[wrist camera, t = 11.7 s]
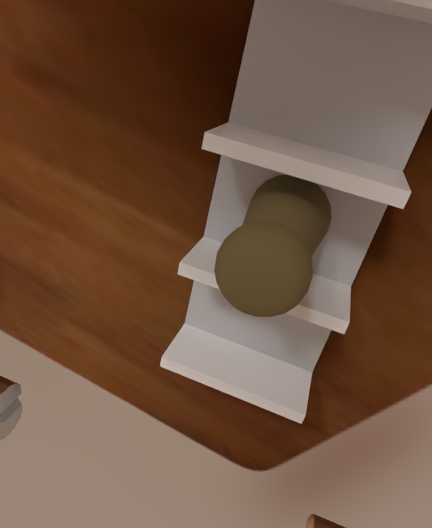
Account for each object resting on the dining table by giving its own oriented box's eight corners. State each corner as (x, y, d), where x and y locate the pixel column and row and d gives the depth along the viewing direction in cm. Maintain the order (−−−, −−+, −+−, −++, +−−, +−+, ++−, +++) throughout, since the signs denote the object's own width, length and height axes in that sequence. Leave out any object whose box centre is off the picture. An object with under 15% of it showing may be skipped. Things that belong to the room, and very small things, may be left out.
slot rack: (265, -31, 24) (241, -58, 19) (471, 11, 22) (504, -5, 17) (186, 325, 38) (159, 366, 33) (309, 373, 36) (301, 424, 31)
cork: (321, 164, 27) (301, 214, 18) (339, 245, 29) (330, 329, 20) (238, 185, 30) (182, 240, 20) (260, 259, 32) (219, 340, 22)
